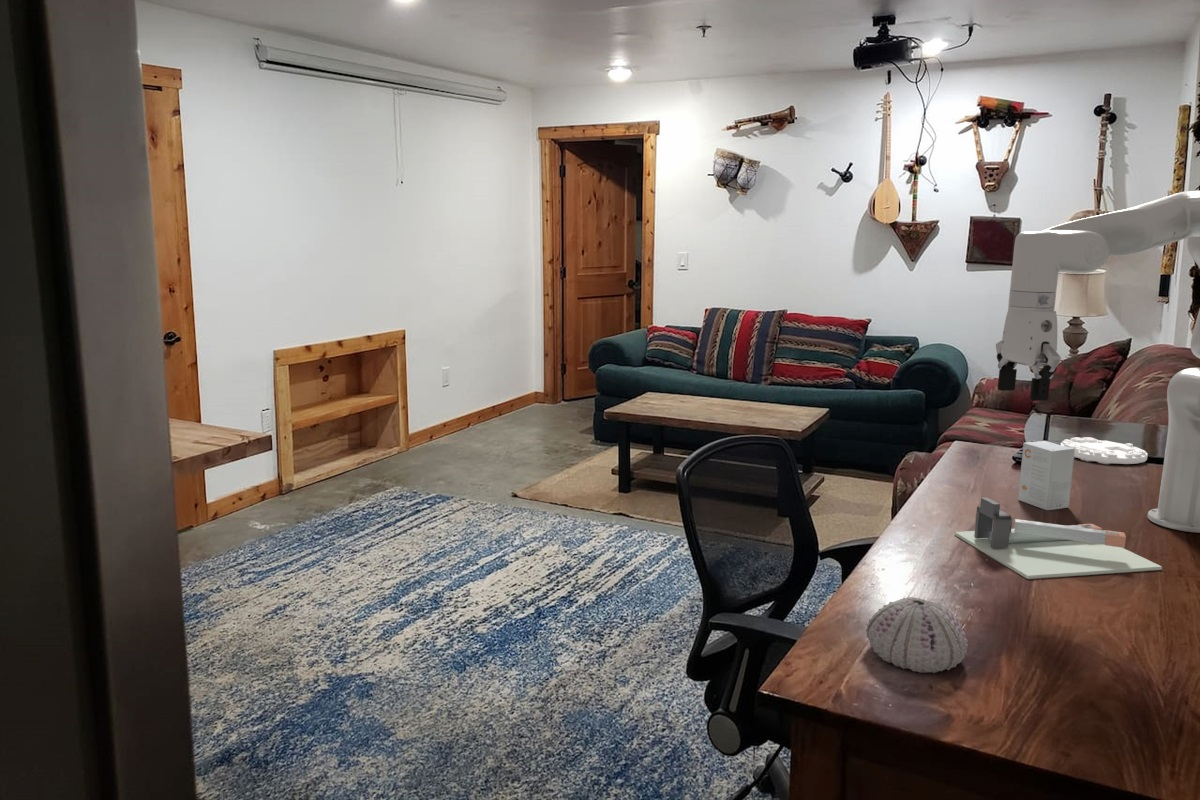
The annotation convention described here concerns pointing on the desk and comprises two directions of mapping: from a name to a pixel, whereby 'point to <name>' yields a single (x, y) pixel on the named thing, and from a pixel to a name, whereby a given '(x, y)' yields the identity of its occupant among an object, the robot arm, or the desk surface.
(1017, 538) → the base
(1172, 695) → the desk surface
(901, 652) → the sea urchin shell
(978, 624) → the desk surface
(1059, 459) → the small box
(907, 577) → the desk surface
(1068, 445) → the embossed medallion
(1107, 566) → the mat
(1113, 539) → the jaw
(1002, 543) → the lock collar
